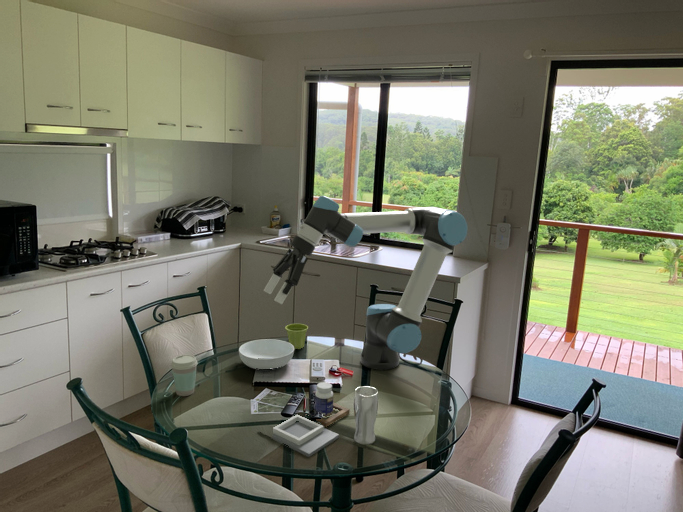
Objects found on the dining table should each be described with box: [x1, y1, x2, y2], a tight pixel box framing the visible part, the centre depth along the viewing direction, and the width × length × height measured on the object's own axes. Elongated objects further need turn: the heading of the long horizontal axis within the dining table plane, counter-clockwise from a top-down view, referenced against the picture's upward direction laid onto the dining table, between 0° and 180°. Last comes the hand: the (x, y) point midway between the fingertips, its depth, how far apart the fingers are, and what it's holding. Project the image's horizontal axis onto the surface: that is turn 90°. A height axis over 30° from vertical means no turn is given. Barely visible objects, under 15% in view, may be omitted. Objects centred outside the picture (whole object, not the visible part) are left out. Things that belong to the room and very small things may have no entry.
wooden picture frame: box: [305, 402, 350, 428], centre depth 170 cm, size 12×12×2 cm
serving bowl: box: [238, 338, 295, 370], centre depth 205 cm, size 21×21×7 cm
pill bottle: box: [314, 381, 334, 417], centre depth 169 cm, size 6×6×10 cm
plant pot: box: [284, 323, 309, 350], centre depth 224 cm, size 9×9×9 cm
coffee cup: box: [170, 354, 199, 397], centre depth 181 cm, size 8×8×12 cm
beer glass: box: [353, 385, 379, 446], centre depth 155 cm, size 7×7×15 cm
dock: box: [272, 413, 340, 458], centre depth 158 cm, size 13×20×2 cm, turn 52°
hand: (272, 297), depth 173 cm, fingers open, 13 cm apart
